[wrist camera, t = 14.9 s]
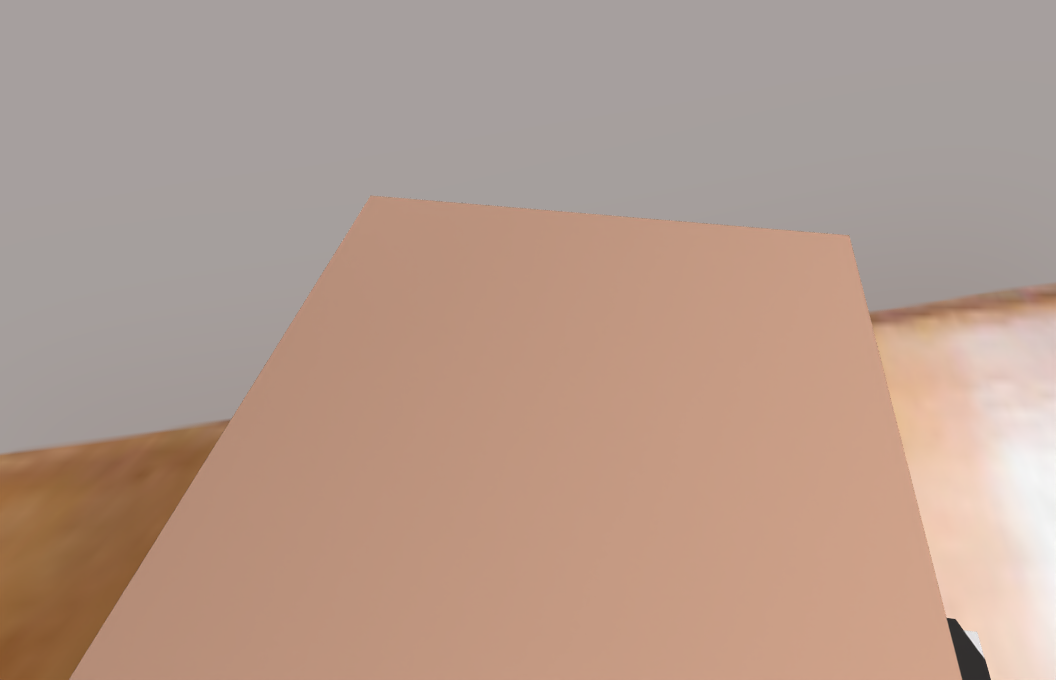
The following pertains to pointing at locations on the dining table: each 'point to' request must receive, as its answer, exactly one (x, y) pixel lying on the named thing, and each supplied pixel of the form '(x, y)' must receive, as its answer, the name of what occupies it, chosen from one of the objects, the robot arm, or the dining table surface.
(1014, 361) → the dining table surface
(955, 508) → the dining table surface
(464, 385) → the peach block
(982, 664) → the robot arm
